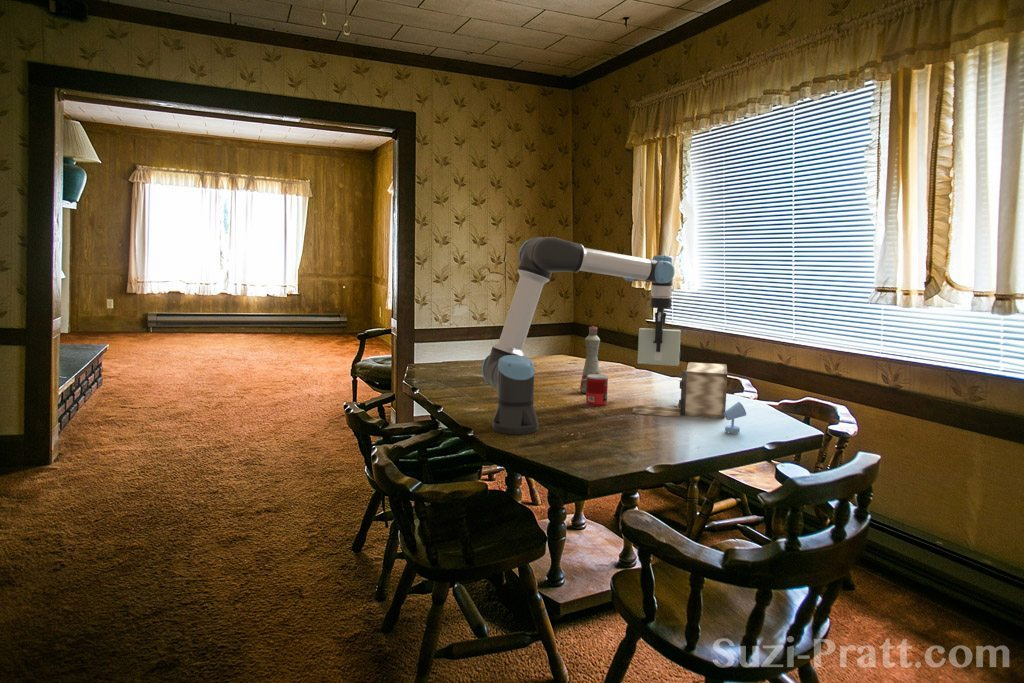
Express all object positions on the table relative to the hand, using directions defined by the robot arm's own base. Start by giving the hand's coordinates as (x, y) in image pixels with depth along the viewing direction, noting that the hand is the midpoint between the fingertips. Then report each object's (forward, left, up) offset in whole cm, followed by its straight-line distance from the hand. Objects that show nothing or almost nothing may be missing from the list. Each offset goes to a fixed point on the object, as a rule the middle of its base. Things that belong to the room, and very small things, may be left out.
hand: (658, 359), depth 248 cm
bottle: (-28, +17, -18) cm, 38 cm away
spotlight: (+27, -28, -18) cm, 43 cm away
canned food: (-22, -3, -18) cm, 29 cm away
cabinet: (+9, -1, -18) cm, 20 cm away
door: (0, 0, -2) cm, 2 cm away
